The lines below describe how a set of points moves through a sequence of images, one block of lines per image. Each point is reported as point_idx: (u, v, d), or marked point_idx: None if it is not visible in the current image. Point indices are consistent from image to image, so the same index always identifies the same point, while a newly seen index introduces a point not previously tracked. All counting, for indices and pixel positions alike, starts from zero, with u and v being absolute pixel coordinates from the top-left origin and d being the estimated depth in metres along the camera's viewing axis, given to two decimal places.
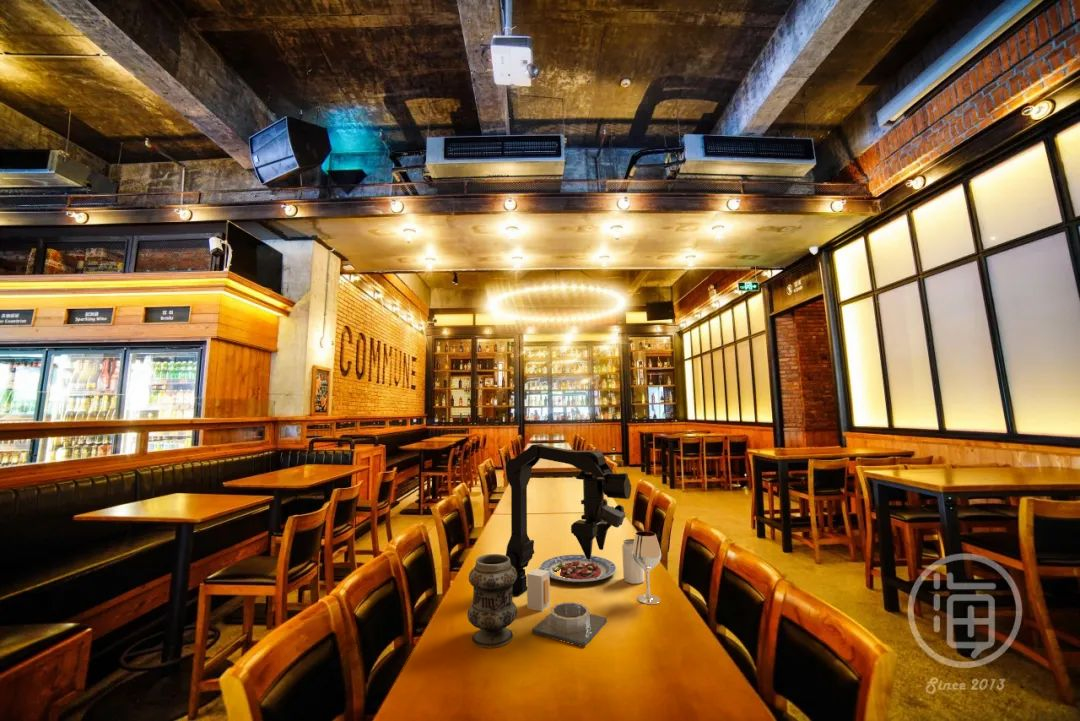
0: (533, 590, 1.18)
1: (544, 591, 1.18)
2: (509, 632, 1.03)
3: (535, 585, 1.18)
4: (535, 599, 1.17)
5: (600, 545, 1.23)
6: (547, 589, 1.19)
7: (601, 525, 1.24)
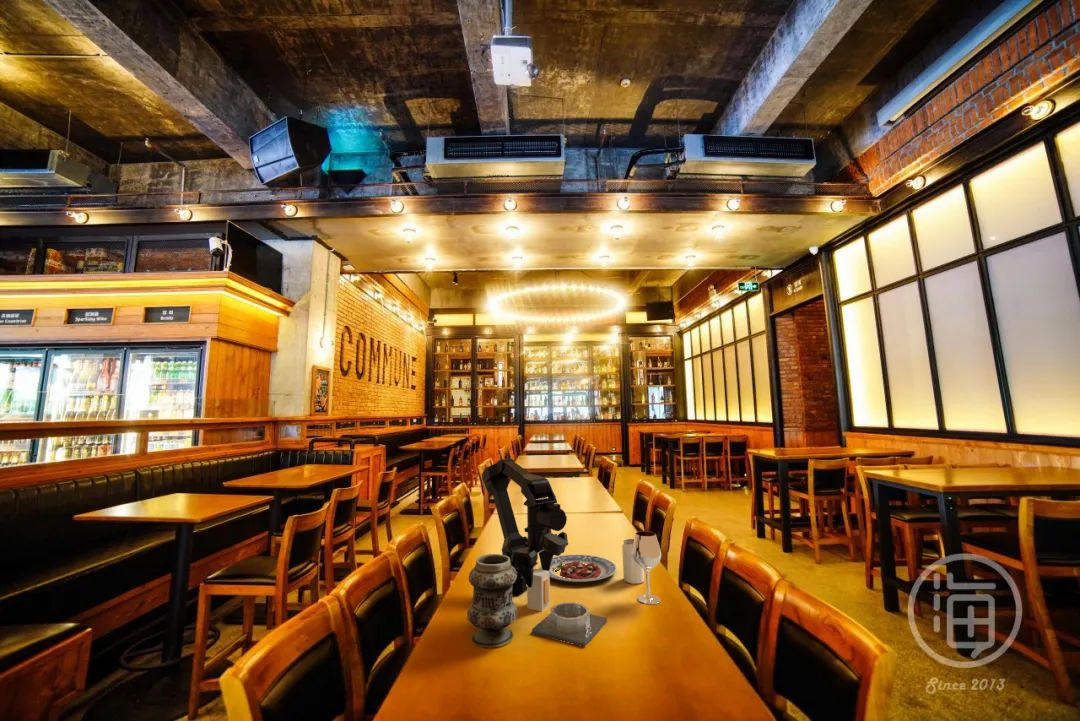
0: (533, 590, 1.18)
1: (544, 591, 1.18)
2: (509, 632, 1.03)
3: (535, 585, 1.18)
4: (535, 599, 1.17)
5: None
6: (547, 589, 1.19)
7: (546, 551, 1.25)
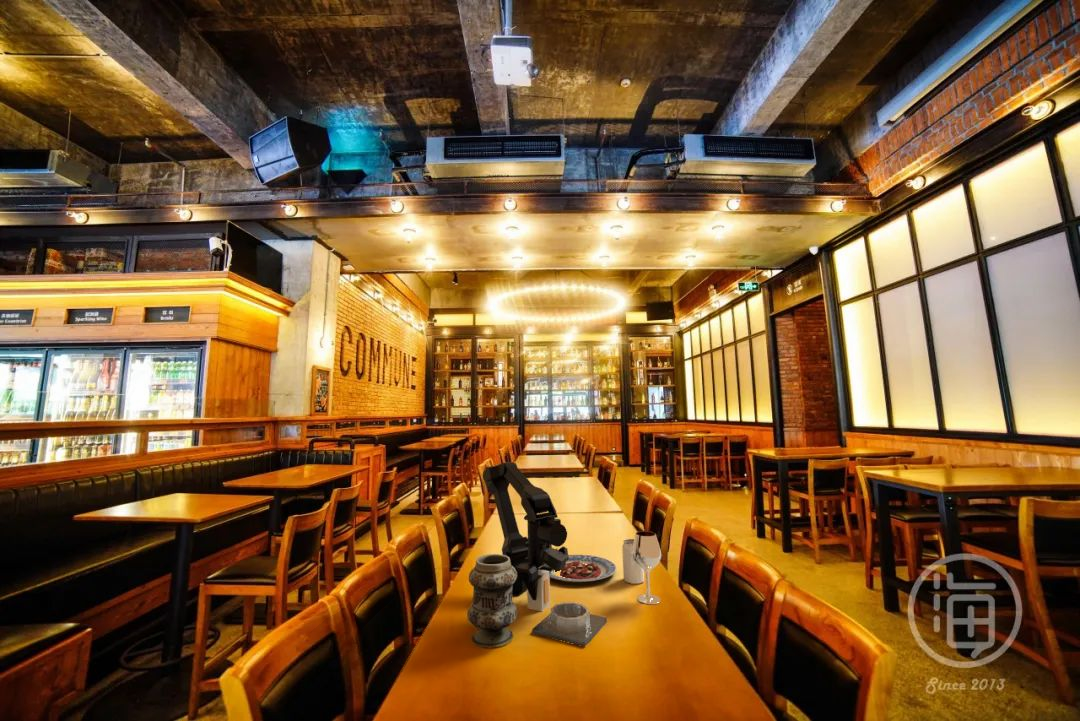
0: None
1: (544, 591, 1.18)
2: (509, 632, 1.03)
3: None
4: None
5: None
6: (547, 589, 1.19)
7: (543, 568, 1.23)
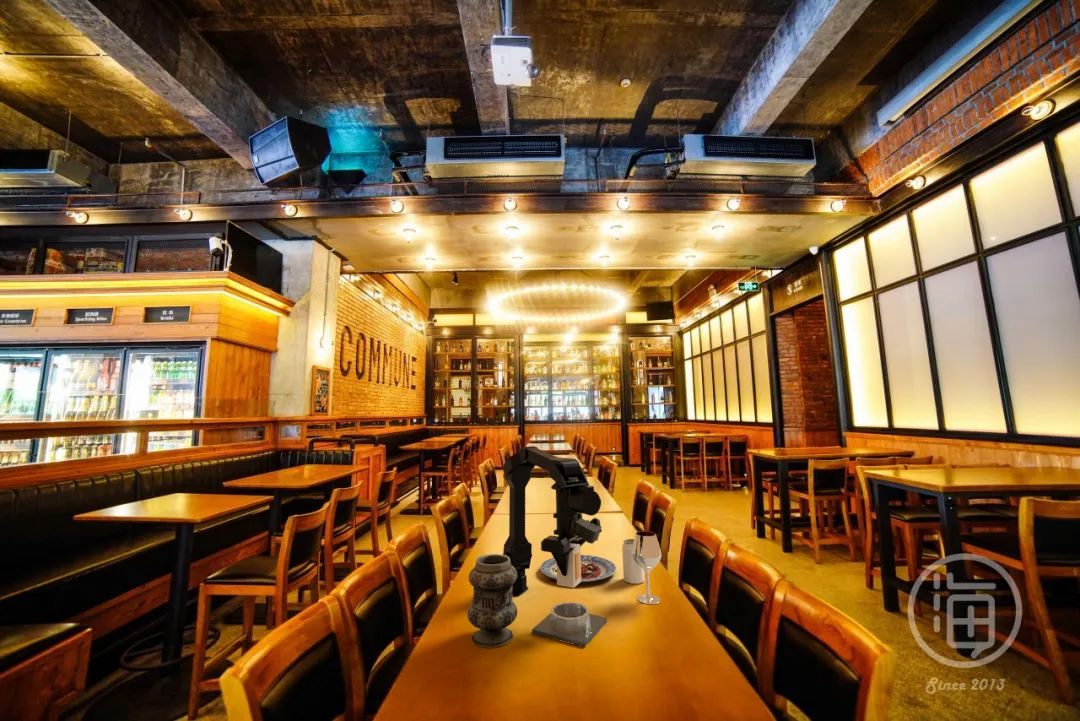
0: None
1: (575, 566, 1.07)
2: (509, 632, 1.03)
3: None
4: None
5: None
6: (578, 564, 1.08)
7: (573, 542, 1.12)
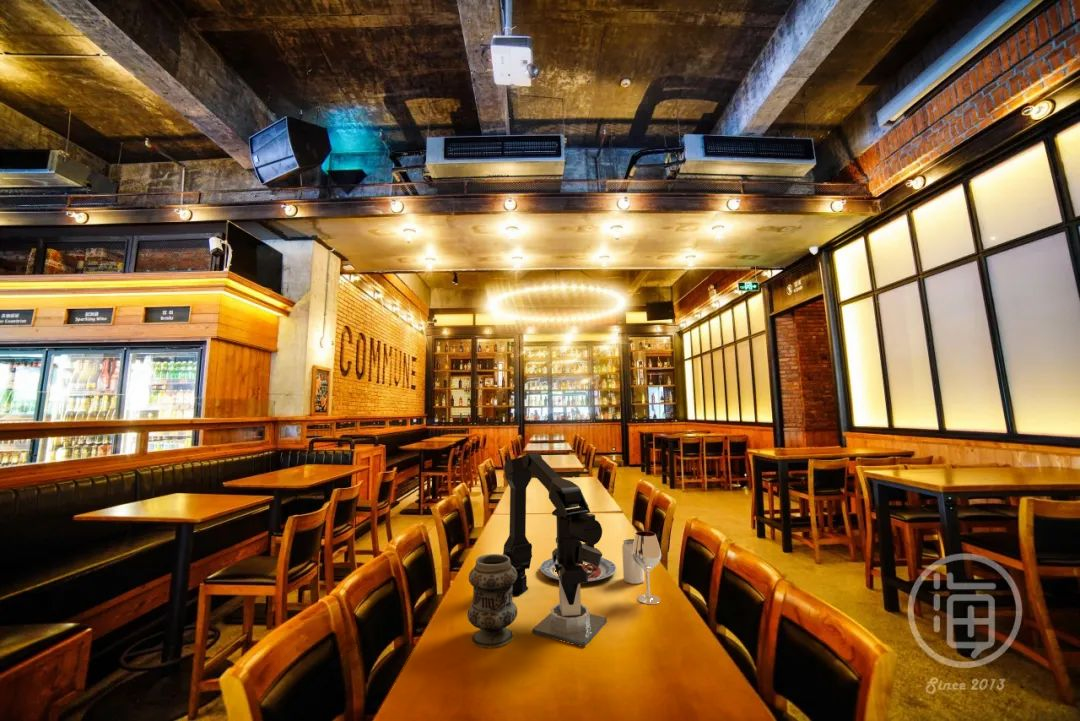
0: None
1: (579, 592, 1.07)
2: (509, 632, 1.03)
3: None
4: None
5: None
6: None
7: None
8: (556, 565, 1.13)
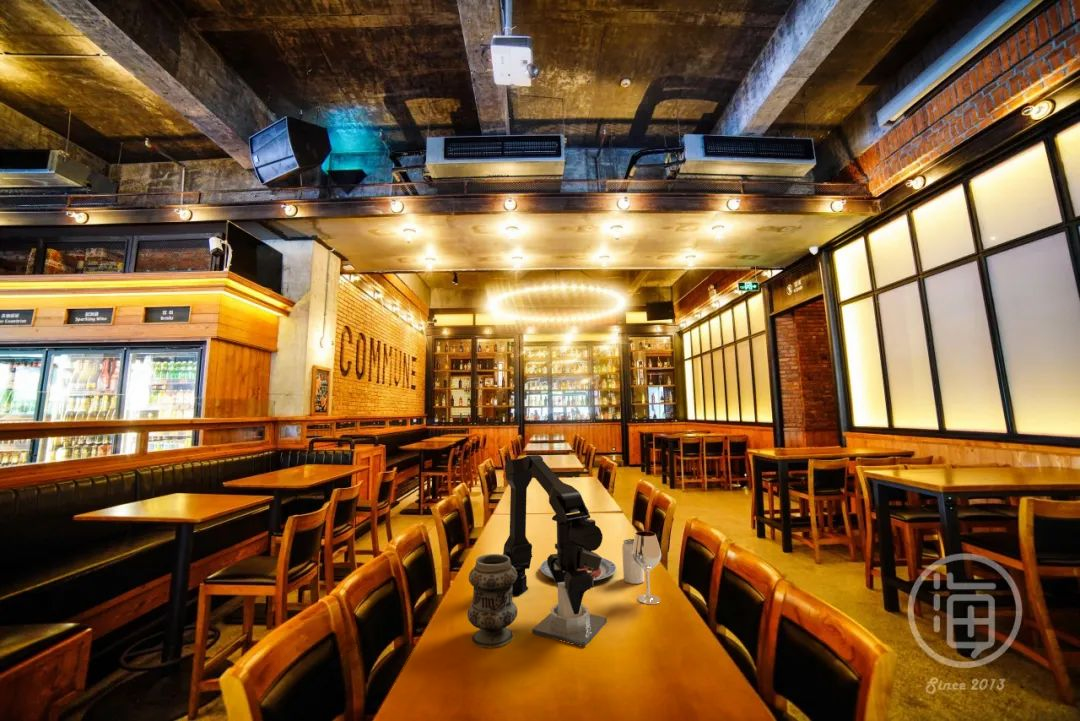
0: None
1: None
2: (509, 632, 1.03)
3: None
4: (574, 615, 1.05)
5: None
6: None
7: (563, 571, 1.13)
8: (551, 568, 1.14)
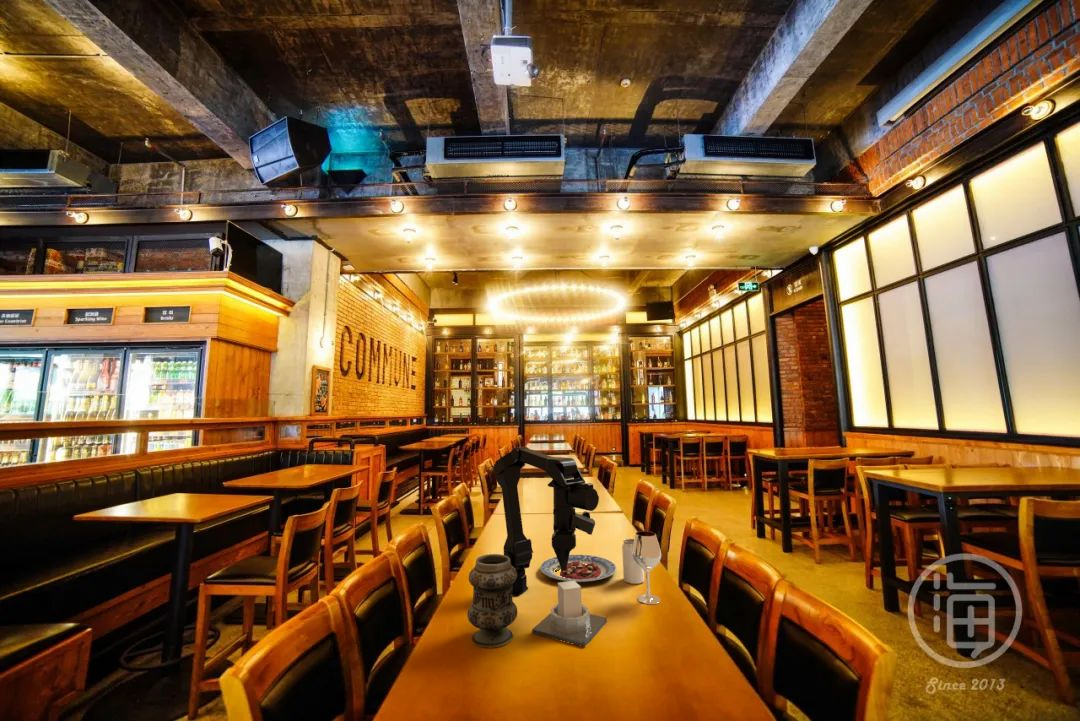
0: (571, 605, 1.05)
1: None
2: (509, 632, 1.03)
3: (574, 599, 1.06)
4: (574, 615, 1.05)
5: None
6: None
7: None
8: (555, 530, 1.24)
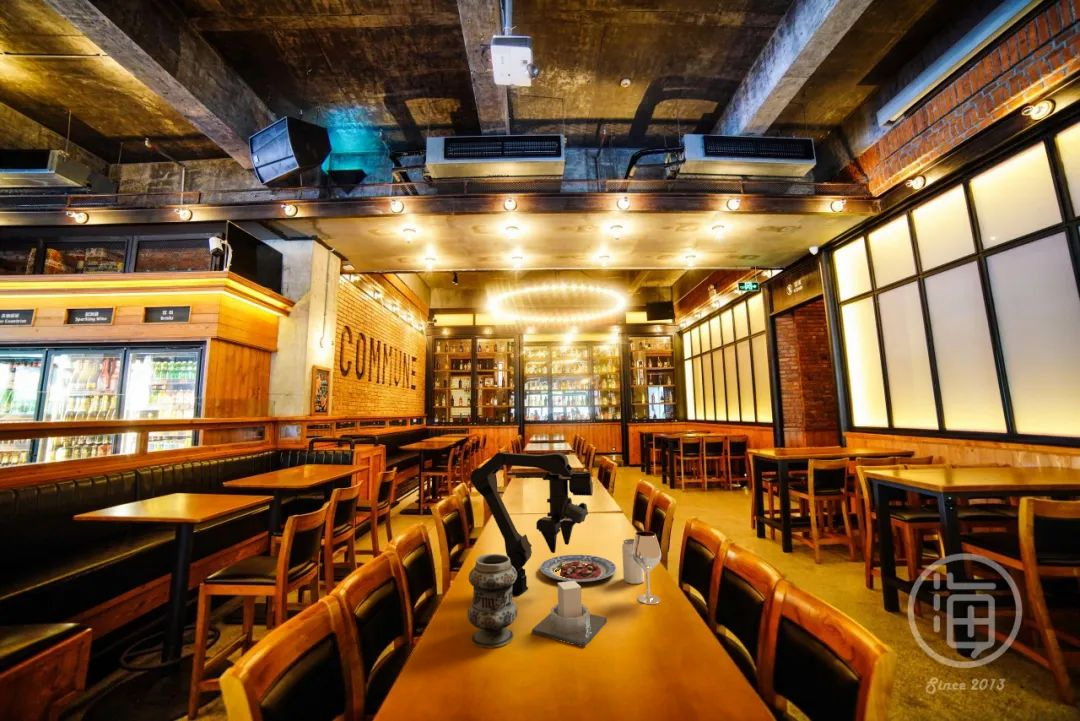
0: (571, 605, 1.05)
1: None
2: (509, 632, 1.03)
3: (574, 599, 1.06)
4: (574, 615, 1.05)
5: (566, 540, 1.32)
6: None
7: (567, 522, 1.34)
8: None
